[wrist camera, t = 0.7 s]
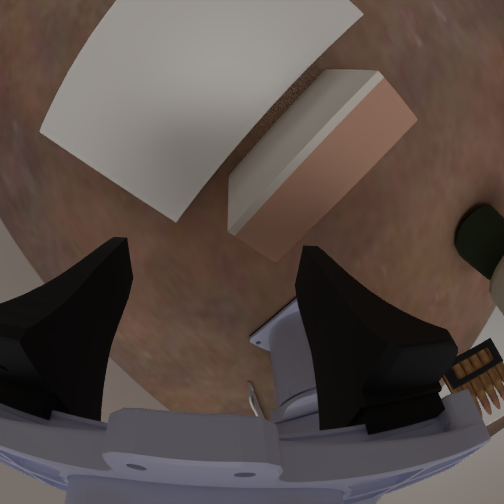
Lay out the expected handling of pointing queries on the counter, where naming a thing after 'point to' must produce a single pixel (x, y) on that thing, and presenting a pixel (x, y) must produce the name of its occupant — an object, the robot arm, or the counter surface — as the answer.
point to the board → (184, 86)
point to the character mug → (485, 248)
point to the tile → (313, 158)
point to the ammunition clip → (478, 374)
